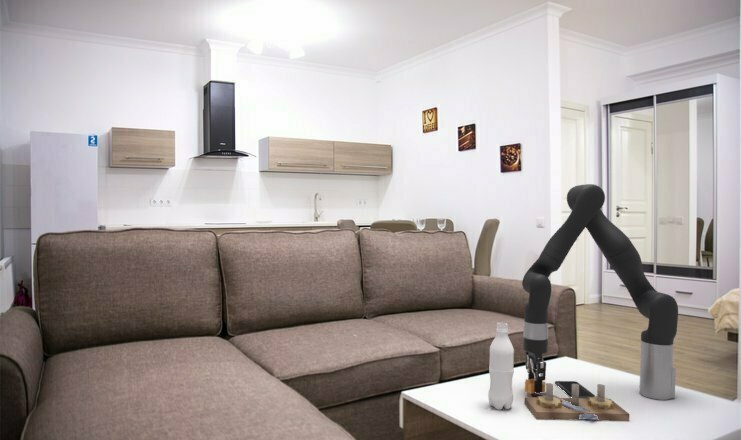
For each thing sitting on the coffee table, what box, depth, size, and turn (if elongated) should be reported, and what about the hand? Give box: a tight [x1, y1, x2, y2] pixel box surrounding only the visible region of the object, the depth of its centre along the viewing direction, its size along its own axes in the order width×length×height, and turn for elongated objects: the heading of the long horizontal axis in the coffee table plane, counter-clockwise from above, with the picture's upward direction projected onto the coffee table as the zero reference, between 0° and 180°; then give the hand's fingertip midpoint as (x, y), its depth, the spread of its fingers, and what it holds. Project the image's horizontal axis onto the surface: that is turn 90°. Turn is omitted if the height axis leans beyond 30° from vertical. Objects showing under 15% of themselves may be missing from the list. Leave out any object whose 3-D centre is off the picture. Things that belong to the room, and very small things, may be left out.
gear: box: [524, 378, 546, 395], centre depth 168 cm, size 6×6×3 cm
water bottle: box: [488, 321, 515, 410], centre depth 158 cm, size 7×7×25 cm
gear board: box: [524, 382, 630, 422], centre depth 155 cm, size 26×12×8 cm, turn 90°
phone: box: [554, 380, 596, 398], centre depth 174 cm, size 8×1×15 cm
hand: (534, 388), depth 168 cm, fingers closed on gear, 6 cm apart
